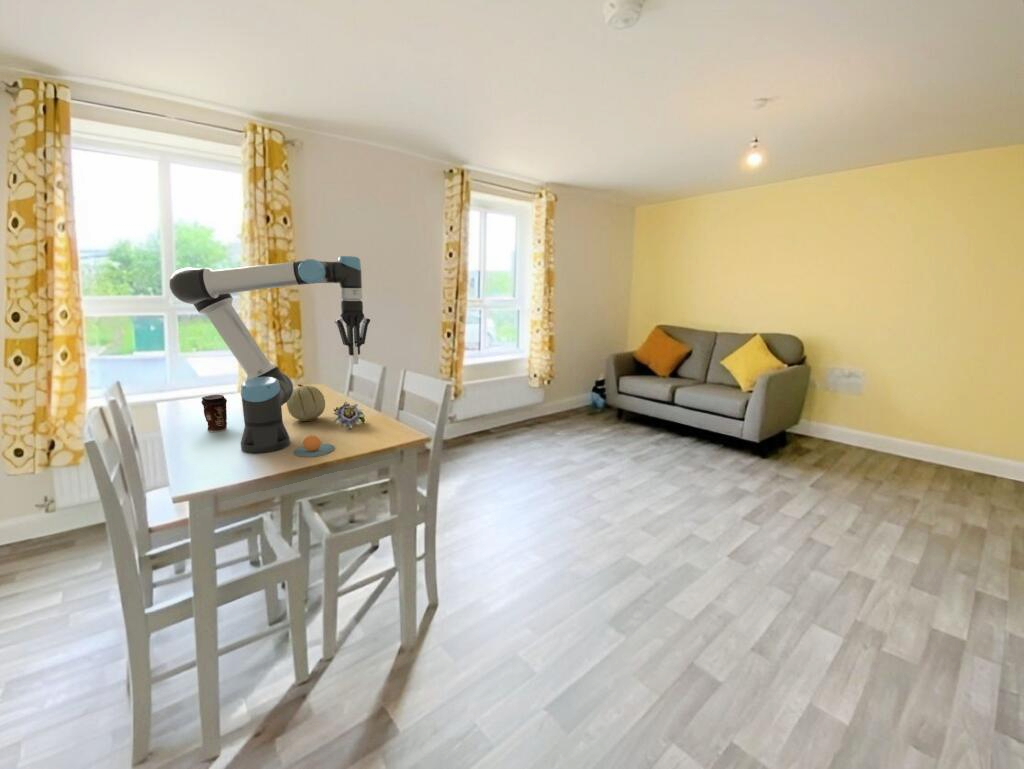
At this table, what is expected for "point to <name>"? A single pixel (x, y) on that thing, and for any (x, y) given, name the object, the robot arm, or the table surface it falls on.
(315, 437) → the ball
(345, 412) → the passion flower
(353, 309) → the robot arm
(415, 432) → the table surface
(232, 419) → the table surface
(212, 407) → the coffee cup
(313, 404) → the cantaloupe
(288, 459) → the table surface
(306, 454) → the mark
